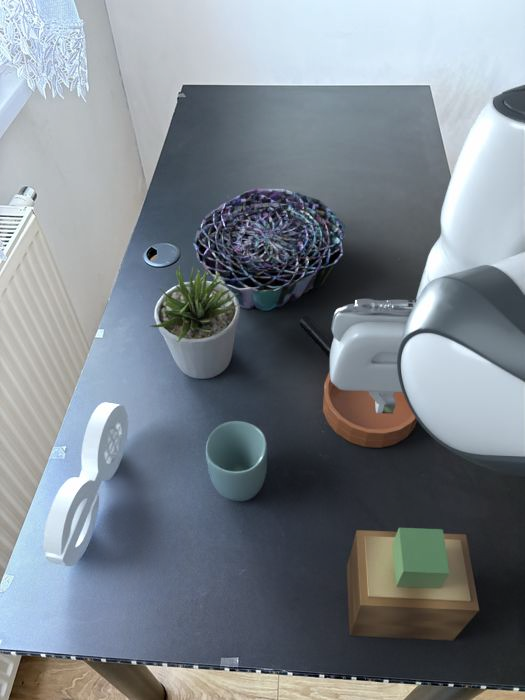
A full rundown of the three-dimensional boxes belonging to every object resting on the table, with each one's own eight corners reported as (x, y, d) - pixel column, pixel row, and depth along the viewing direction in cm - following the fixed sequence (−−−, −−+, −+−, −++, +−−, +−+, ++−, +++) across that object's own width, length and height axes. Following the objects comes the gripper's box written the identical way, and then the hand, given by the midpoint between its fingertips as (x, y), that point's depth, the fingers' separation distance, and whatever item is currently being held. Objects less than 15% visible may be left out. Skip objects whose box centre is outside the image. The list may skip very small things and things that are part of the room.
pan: (437, 420, 89) (443, 403, 85) (361, 466, 84) (365, 450, 81) (376, 358, 97) (380, 340, 93) (304, 397, 92) (305, 379, 88)
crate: (442, 571, 75) (466, 532, 65) (452, 640, 69) (480, 609, 60) (346, 567, 75) (356, 528, 66) (349, 635, 70) (361, 603, 61)
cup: (219, 454, 86) (214, 415, 78) (272, 463, 85) (272, 425, 77) (204, 503, 81) (198, 467, 73) (261, 514, 80) (260, 479, 72)
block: (433, 546, 64) (443, 529, 61) (439, 588, 62) (449, 573, 58) (392, 544, 65) (398, 527, 61) (395, 586, 62) (403, 571, 58)
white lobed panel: (118, 428, 89) (103, 388, 81) (132, 430, 88) (119, 390, 81) (59, 574, 75) (34, 543, 67) (75, 577, 75) (52, 547, 67)
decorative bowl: (367, 272, 112) (376, 228, 105) (270, 349, 98) (273, 304, 90) (265, 216, 123) (268, 173, 116) (165, 277, 109) (160, 232, 102)
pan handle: (345, 362, 93) (347, 354, 91) (335, 368, 92) (336, 360, 91) (308, 322, 98) (309, 314, 97) (298, 327, 98) (299, 319, 96)
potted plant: (143, 369, 96) (119, 278, 80) (200, 319, 103) (187, 226, 87) (203, 408, 91) (189, 319, 75) (258, 352, 98) (255, 260, 82)
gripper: (336, 332, 42) (321, 435, 52) (634, 342, 41) (557, 444, 52) (333, 269, 45) (320, 377, 56) (605, 278, 45) (539, 384, 56)
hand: (435, 409), depth 54 cm, fingers open, 8 cm apart
